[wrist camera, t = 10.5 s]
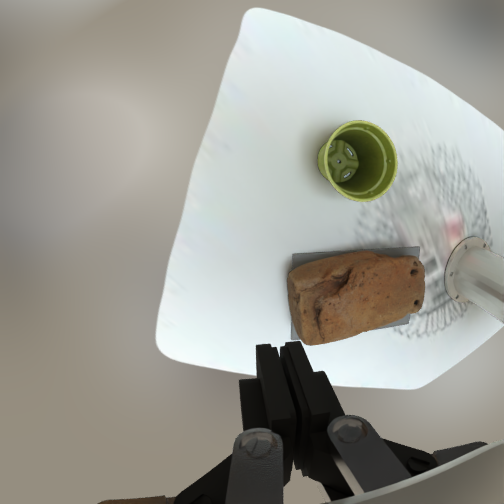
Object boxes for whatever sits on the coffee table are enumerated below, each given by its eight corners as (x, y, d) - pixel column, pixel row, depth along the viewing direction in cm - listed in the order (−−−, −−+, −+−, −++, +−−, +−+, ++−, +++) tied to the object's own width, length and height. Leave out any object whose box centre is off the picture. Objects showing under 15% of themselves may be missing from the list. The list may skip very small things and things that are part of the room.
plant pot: (290, 155, 40) (307, 153, 32) (340, 114, 39) (366, 105, 31) (332, 207, 43) (357, 218, 35) (378, 166, 42) (410, 169, 33)
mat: (419, 246, 46) (420, 247, 46) (407, 323, 50) (408, 323, 49) (292, 253, 44) (293, 254, 44) (291, 339, 48) (291, 340, 48)
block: (292, 329, 47) (404, 298, 48) (304, 355, 40) (428, 316, 41) (281, 263, 44) (402, 236, 45) (293, 280, 37) (430, 246, 38)
